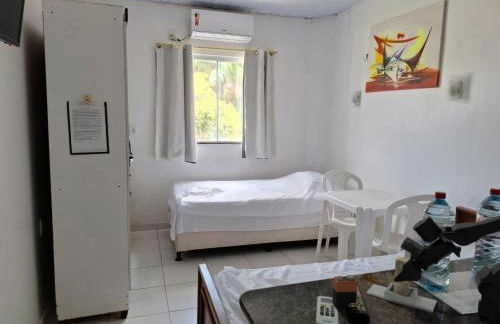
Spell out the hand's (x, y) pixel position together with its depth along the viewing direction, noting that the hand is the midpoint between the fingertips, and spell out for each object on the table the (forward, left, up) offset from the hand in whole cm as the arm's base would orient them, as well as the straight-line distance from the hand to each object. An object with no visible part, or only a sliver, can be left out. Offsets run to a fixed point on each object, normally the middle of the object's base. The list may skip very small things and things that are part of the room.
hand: (397, 276), depth 123 cm
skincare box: (0, -25, -8) cm, 26 cm away
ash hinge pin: (-1, 0, -8) cm, 8 cm away
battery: (+13, +17, -8) cm, 23 cm away
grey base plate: (-1, 0, -8) cm, 8 cm away
